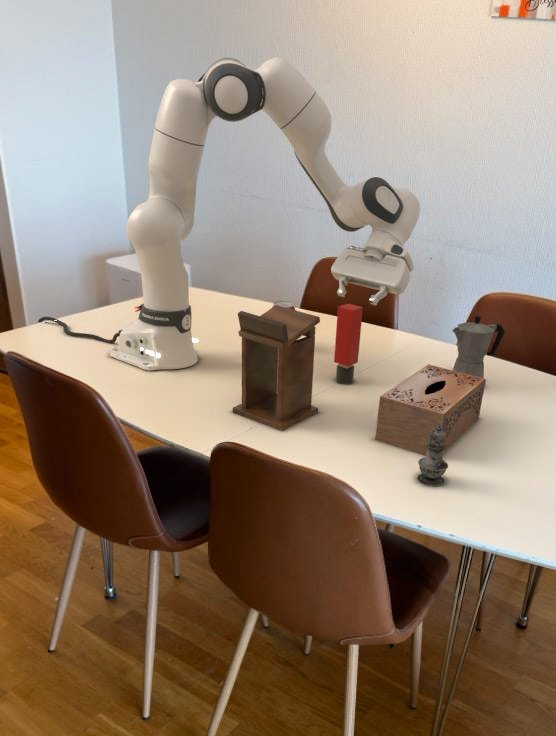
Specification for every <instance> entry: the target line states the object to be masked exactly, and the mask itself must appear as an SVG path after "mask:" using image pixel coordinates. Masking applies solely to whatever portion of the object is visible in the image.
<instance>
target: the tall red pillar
mask: <svg viewBox="0 0 556 736" xmlns="http://www.w3.org/2000/svg"><path fill="white" fill-rule="evenodd" d="M363 309H364V308H363V306H359V305H355V304H351V303H345V304H342V305H339V306H337V315H336V327H335V328H336V329H335V330H336V331H335V342H334V343H335V344H334V355H333V357H334V358H333V362H334V363H336V364H337V365H336V373H335V374H336V375H335V381H336V383H338V384H341V385H351V384H353V383H354V375H355V366H354V365H355V364H357V363H359V355H360V344H361V331H362V319H363V311H364V310H363Z"/></svg>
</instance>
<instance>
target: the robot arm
mask: <svg viewBox="0 0 556 736" xmlns="http://www.w3.org/2000/svg"><path fill="white" fill-rule="evenodd" d="M260 111H263V112H264V113H265V114H266V115H267V116H269V117H270V118H271V120H272V121H273V123H274V124H275V125H276V126H277V127H278V128H279V129H280V131H281V132H282V133H283V135H284V136H285V137H286V139H287V140H288V142H289V143H290V145H291V147H292V148H293V152H294V155H295V158H296V160H297V162H298V164H299V165H300V167H301V168H302V169H303V171H304V172H305V174H306V176H307V177H308V178H309V179H310V181H311V182H312V184H313V185H314V187H315V188H316V190H317V192H319V195H320V196H321V197H322V199H323V200H324V202H325V203H326V205H327V207H328V209H329V212H330V214H331V217H332V219H333V221H334V223H335V224H336V225H337V226H338V227H339V228H340V229H342V230H343V231H345V232H348V233H349V232H350V233H352V232H353V233H354V232H357V231H359V230H361V229H363V228H364V227H366V226H370V227H371V229H372V230H371V233H370V234H369V236H368V237H367V240H366V242H365V244H364V245H363V247H357V246H355V245H350V246H348V247H344V248H343V249H342V251H341V253H340V254H339V255H338V256H337V258H336V259H335V261H334V262H333V263H332V265H331V267H330V271H331V272H330V273H331V274H332V276H333V278H334V279H335V280H336V281H338V285H339V287H338V289H337V291H336V294H337V296H338V297H342V298H345V297H346V294H347V293H348V291H347V289H346V287H345V286H348V284H352V285H357V286H359V287H364V288H367V289H372V290H377V291H378V292H377V293H376V294H371V296H370V297H369V299H368V302H369V304H370V305H372V306H377V305H378V304H379V301H381V300H382V299H384V298H385V297H387V295H388V293H389V294H392V295H393V294H394V295H397V296H399V295H401V294H403V293H404V292H405V291H406V288H407V287H408V286H409V285H408V284H409V283H410V280H411V277H412V276H411V272H413V271H414V268H415V266H414V261H413V259H412V256H411V255H410V253H409V251H408V249H407V248H405V243H406V242H408V240H409V239H410V238H411V235H412V234H413V232H414V229H415V228H416V225H417V223H418V221H419V217H420V214H421V204H420V200H419V199H418V198H417V196H416V195H415V194H414V193H413V192H411V190H408V189H404V188H396V187H394V186H392V185H391V184H390V183H389V182H388V181H387V180H385V178H382V177H379V176H373V177H370V178H367V179H365V180H362V181H361V182H358V183H357V184H355V185H349V184H346V183H345V182H344V180H343V179H342V178H341V176H340V175H339V174H338V172H337V171H336V169H335V168H334V166H333V164H332V163H331V161H330V160H329V158H328V156H327V153H326V144H327V142H328V140H329V138H330V136H331V132H332V122H333V121H332V120H333V119H332V114H331V112H330V110H329V108H328V105H327V104H326V102H325V101H324V100H323V98H322V97H321V95H320V94H319V93H318V91H316V89H315V88H314V87H313V86H312V84H311V83H310V82H309V81H308V80H307V79H306V78H305V76H304V75H302V73H301V72H300V71H298V69H296V68H295V67H294V65H292V64H291V63H290V62H289V61H288V60H287V59H285V58H283V57H280V56H276V57H275V56H274V57H271V58H269V59H267V60H266V61H264V62H263V63H262V64H261V65H260V66H259V67H258V68H256V69H250V68H248V67H247V66H246V65H245V64H244V63H243V62H241V61H240V60H238V59H236V58H234V57H233V58H232V57H224V58H220V59H218V60H216V61H215V62H213V63H212V64H211V65H210V66H209V67H208V68H207V69H206V71H205V72H204V73H203V74H202V75H201V77H200V78H198V80H197V81H193V80H190V79H187V78H177V79H173V80H171V81H170V82H169V83H168V84H167V86H166V88H165V90H164V93H163V95H162V98H161V100H160V104H159V108H158V110H157V114H156V119H155V124H154V128H153V134H152V140H151V145H150V150H149V156H148V160H147V161H148V162H147V168H148V170H149V194H148V198H147V200H146V201H144V202H141V203H140V204H138V205H137V206H136V207H135V208H134V209H133V211H132V212H131V214H130V215H129V217H128V218H127V222H126V234H127V237H128V239H129V241H130V242H131V244H132V246H133V248H134V250H135V254H136V258H137V261H138V266H139V269H140V277H141V287H142V301H143V303H141V304H140V305H138V306H135V307H134V309H135V310H134V312H135V313H137V312H139V313H138V317H137V319H135V320H134V321H132V322H131V323H130V324H129V325H127V326H126V327H124V328H123V329H120V330H119V329H118V332H115V334H113V336H112V338H111V339H106V338H103V337H101V336H99V335H96V334H92V333H86V332H85V333H84V332H76V331H75V332H74V331H70V330H68V325H67V323H65V322H64V321H62V320H59V319H57V318H55V317H52V316H42V317H40V318H39V319H38V320H37V323H43V322H44V321H51V322H53V323H56V324H58V325H59V326H62V327H63V329H62V330H63V332H64V333H65V334H66V335H69V336H73V337H82V338H91V339H94V340H98V341H99V342H102V343H105V344H114V343H115V342H116V341H117V340H118V345H117V346H114V347H113V348H112V349H111V350H110V352H109V357H111V358H113V359H116V360H118V361H121V362H124V363H126V364H129V365H132V366H134V367H136V368H139V369H142V370H145V371H158V370H178V369H179V370H180V369H185V368H188V367H192V366H194V365H195V364H196V363H197V362H198V361H199V360H198V356H197V353H196V349H195V345H194V343H199V339H198V338H194V337H193V335H192V319H193V317H192V306H191V305H190V291H189V290H190V289H189V274H188V271H187V269H186V267H185V263H184V259H183V253H182V246H181V244H182V242H183V241H185V239H187V238H188V237H189V236H190V234H191V232H192V230H193V228H194V224H195V209H196V199H197V198H196V197H197V185H198V178H199V173H200V168H201V164H202V159H203V154H204V149H205V146H206V145H205V144H206V141H207V135H208V131H209V128H210V125H211V124H212V122H213V121H214V119H215V118H217V117H218V118H219V119H221V120H223V121H225V122H230V123H234V122H235V123H236V122H240V121H243V120H245V119H247V118H249V117H251V116H253V115H254V114H256V113H258V112H260ZM54 320H57V321H54ZM117 338H118V339H117Z"/></svg>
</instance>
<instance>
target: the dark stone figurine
mask: <svg viewBox="0 0 556 736" xmlns="http://www.w3.org/2000/svg"><path fill="white" fill-rule="evenodd" d="M440 427H441V425H440V424H439V425H438V427H437V428H433V429H432V430H431V433H430V440H429V443H427V447H428V450H427V455H425V456H424V457H421V458H420V459H419V460H418V461H417V463H418V465H419V466H418V468H419V472H420V474H418V475H417V481H418V482H419V483H420V484H422V485H425V486H428V487H438V486H442V485H443V484H444V483H445V479H444V477H443V476H444V474H445V473H446V471H447V469H448V468H449V463H448V461H446V460H445V459H443V456H444V452H443V450H444V449H445V448H446V447H445V445H444V441H445V435H446V432H445V430H444V429H442V428H440Z"/></svg>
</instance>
